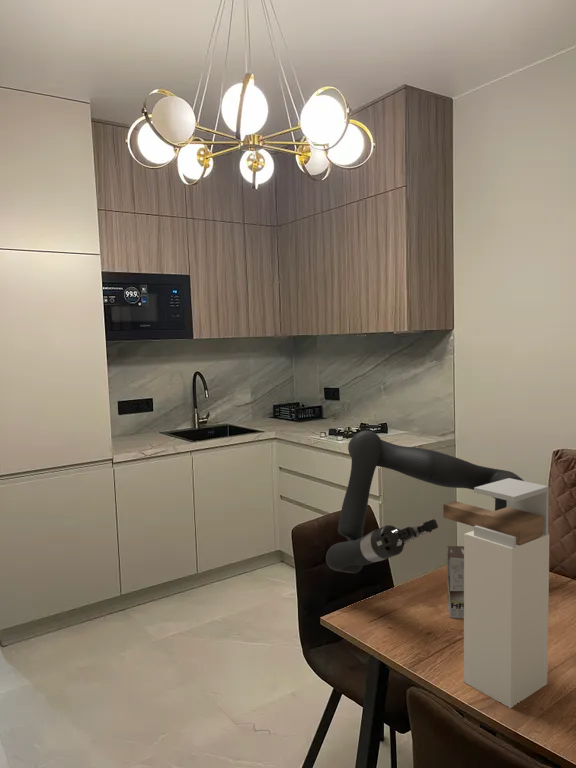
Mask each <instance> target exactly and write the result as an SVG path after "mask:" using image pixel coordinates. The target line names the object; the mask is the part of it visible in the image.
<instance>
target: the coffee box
mask: <svg viewBox="0 0 576 768" xmlns="http://www.w3.org/2000/svg"><path fill="white" fill-rule="evenodd" d="M446 547H447V550H446V551H447V553H446V556H447V557H446V560H447V563H446V565H447V566H446V571H447V574H446V577H447V582H446V583H447V584H446V585H447V586H446V587H447V589H446V590H447V599H446V600H447V602H446V603H447V607H448V614H449V615H448V616H449V618H453V619H462V620H464V545H460V546H459V545H457V546H456V545H455V546H454V545H453V546H452V545H447V546H446Z"/></svg>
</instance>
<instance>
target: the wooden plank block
mask: <svg viewBox="0 0 576 768" xmlns="http://www.w3.org/2000/svg"><path fill="white" fill-rule="evenodd" d="M442 506H443V508H442V509H443V514H442V515H443V519H447V520H451V521H453V522H458V523H460V524H463V525H467V526H471V527H474V526H476V525H477V526H480V527H484V528H487V529H490V530H494V531H497V532H501V533H504V534H507V535H511V536H514V537H516V543H517V544H522V543H524V542H527V541H529V540H532V539H535V538H537V537H540V536H542V535H543V516H541V515H537V514H533V513H530V512H526V511H522V510H518V509H514V508H510V507H506V508H503V509H499V510H496V511H495V510H490V509H487V508H482V507H479V506H475V505H471V504H467V503H464V502H460V501H456V500H454V501H450V502H447V503H444V504H443V505H442Z"/></svg>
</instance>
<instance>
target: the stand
mask: <svg viewBox="0 0 576 768" xmlns="http://www.w3.org/2000/svg"><path fill="white" fill-rule="evenodd" d="M549 488H550V486H549V485H544V484H540V483H534V482H529V481H525V480H524V481H521V480H516V479H511V478H508V479H504V480H500V481H497V482H493V483H489V484H485V485H482V486H478V487H474V490H473V492H474V493H476V494H479V495H483V496H486V497H487V496H488V497H491V498H493V497H495V498H499V499H503V500H507V507H510V508H514V509H518V510H522V511H526V512H530V513H533V514H537V515H541V516H543V535H542V536H540V537H537V538H535V539H532V540H529V541H527V542H524V543H522V544H517V543H516V537H514V536H511V535H507V534H504V533H501V532H497V531H494V530H490V529H487V528H484V527H480V526H477V525H476V526H473V530H471V531H468V532H466V533H464V535H463V539H464V540H463V544H464V545H463V546H464V619H463V683H465V684H466V685H469V686H470V687H472V688H473V689H475V690H477V691H479V692H481V693H482V694H485V695H486V696H488V697H489V698H491V699H493V700H495V701H497V702H498V703H500V702H501V704H502V705H504V706H506V707H507V706H508V707H507V708H509V709H512V708H513V707H515V706H517V703H518V704H519V703H521V702H522V701H524V700H525V699H527V698H528V697H530V696H531V695H533V694H534V693H536V692H537V691H539V690H540V689H542V688H544V687H545V686H546V685H547V684H548V665H549V664H548V661H549V660H548V659H549V658H548V657H549V656H548V655H549V653H548V650H549V645H548V644H549V591H550V589H549V587H550V586H549V583H550V533H549V503H550V502H549V501H550V499H549V497H550V496H549V495H550V494H549V493H550V492H549V491H550V489H549ZM495 498H494V499H495ZM520 701H521V702H520ZM514 705H515V706H514Z"/></svg>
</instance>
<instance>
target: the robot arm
mask: <svg viewBox="0 0 576 768" xmlns="http://www.w3.org/2000/svg"><path fill="white" fill-rule="evenodd" d="M347 446H348V447H347V449H348V450H347V451H348V454H349V456H350V457H351V469H350V474H349V479H348V484H347V487H346V491H345V495H344V498H343V501H342V505H341V510H340V515H339V520H338V526H337V532H338V534H339V535H341V536H343V537H345V538H347V540H346V541H342V542H337V543H334V544H333V545H331V546H330V547H329V549H327V552H326V555H325V562H326V564H327V566H328V567H329V569H331V570H333V571H335V572H342V573H347V574H357V573H359V572H360V571H361V570H362V568H363V566H368V565H370V564H373V563H376V562H382V561H385V560H388V559H390V558H392V557H395V556H398V555H400V554H401V553H402V552H403V550H404V547H405V545H406V544H409V543H411V541H414V540H417V539H420V538H421V536H423V535H425V534H429V533H432V532H433V530H436V529H438V528H439V525H438V523H437V520H436V519H435V518H434V519H431V520H428V521H425V522H422V523H420V524H415V523H413V524H411V525H407V526H402V527H399V528H397V527H396V526H394V525H391V524H388V525H387V524H386V525H384V526H382V527H380V528H377V529H375V530H372V531H371V532H369V533H367V534H366V535H364V529H365V528H364V527H365V522H366V516H367V511H368V505H369V498H370V491H371V487H372V481H373V478H374V475H375V471H376V468H377V467H378V468H379V467H380V468H385V469H388V470H392V471H395V472H398V473H401V474H404V475H406V476H408V477H410V478H411V477H412V478H414V479H416V480H419V481H422V482H425V483H428V484H432V485H436V486H440V487H445V488H451V489H452V488H453V489H454V488H455V489H456V488H458V489H468V490H472V491H474V487H478V486H482V485H485V484H489V483H493V482H497V481H500V480H504V479H508V478H511V479H516V480H521V481H525V480H524V479H523V478H522V477H520V476H519V475H518V474H516V473H515V472H512V471H510V470H504V469H497V468H492V467H486V466H482V465H478V464H474V463H472V462H469V461H466V460H464V459H461V458H458V457H456V456H452V455H450V454H448V453H447V454H446V453H442V452H439V451H436V450H431V449H427V448H420V447H413V446H404V445H398V444H395V443H391V442H388V441H386V440H383V439H381V437H380V436H379V435H378V434H377V433H376V432H374V431H372V430H361V431H359V432H357V433H356V434H355V435H353V436H352V438H351V439H350V441H349V442H348V445H347ZM492 498H493V499H494V511H496V510H499V509H503V508H506V507H507V500H503V499H499V498H495V497H492Z"/></svg>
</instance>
